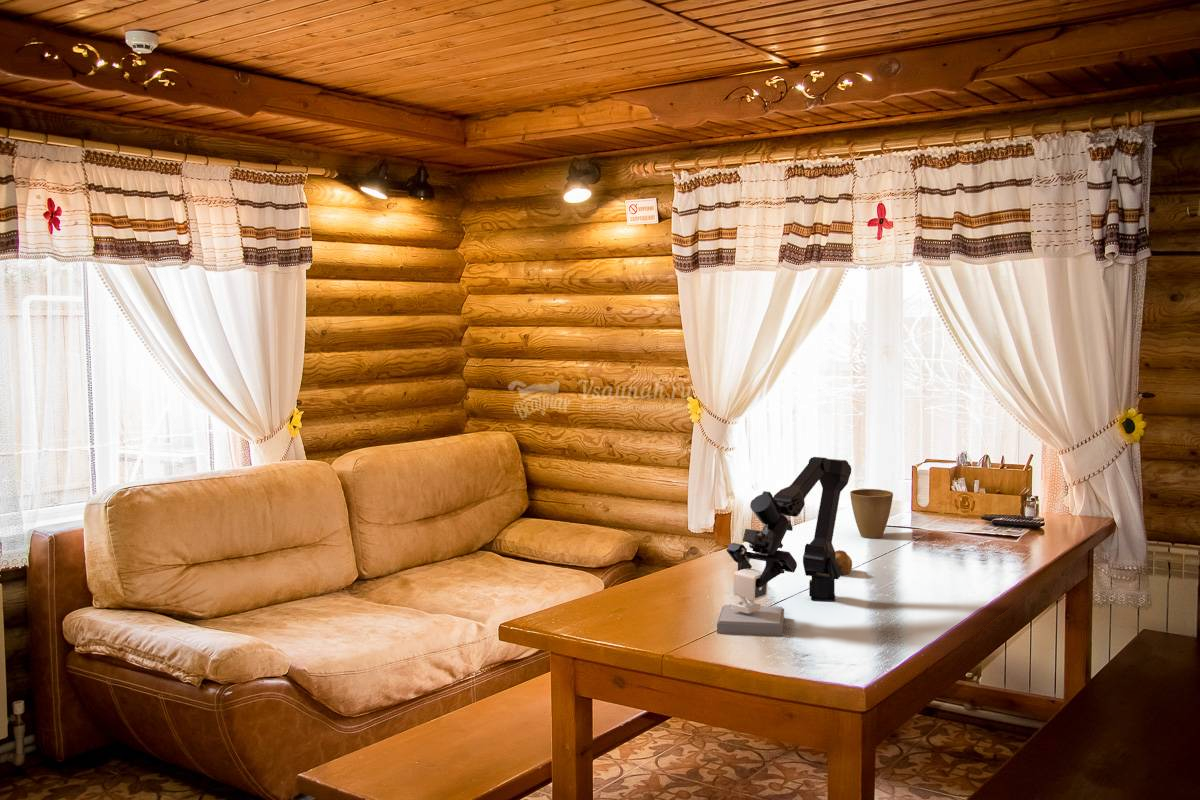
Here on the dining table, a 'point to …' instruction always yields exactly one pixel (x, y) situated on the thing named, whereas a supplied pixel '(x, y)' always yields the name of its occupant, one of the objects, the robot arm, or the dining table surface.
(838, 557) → the bread roll
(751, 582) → the security camera
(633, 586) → the dining table surface
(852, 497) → the plant pot
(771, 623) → the grey square slab
